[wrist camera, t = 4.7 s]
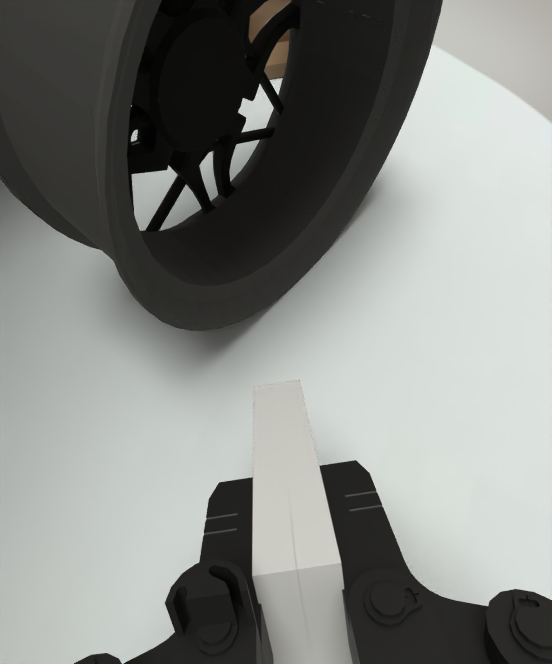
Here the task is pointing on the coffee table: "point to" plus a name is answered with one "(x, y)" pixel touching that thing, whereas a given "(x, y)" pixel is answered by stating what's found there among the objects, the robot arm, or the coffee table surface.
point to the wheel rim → (204, 133)
